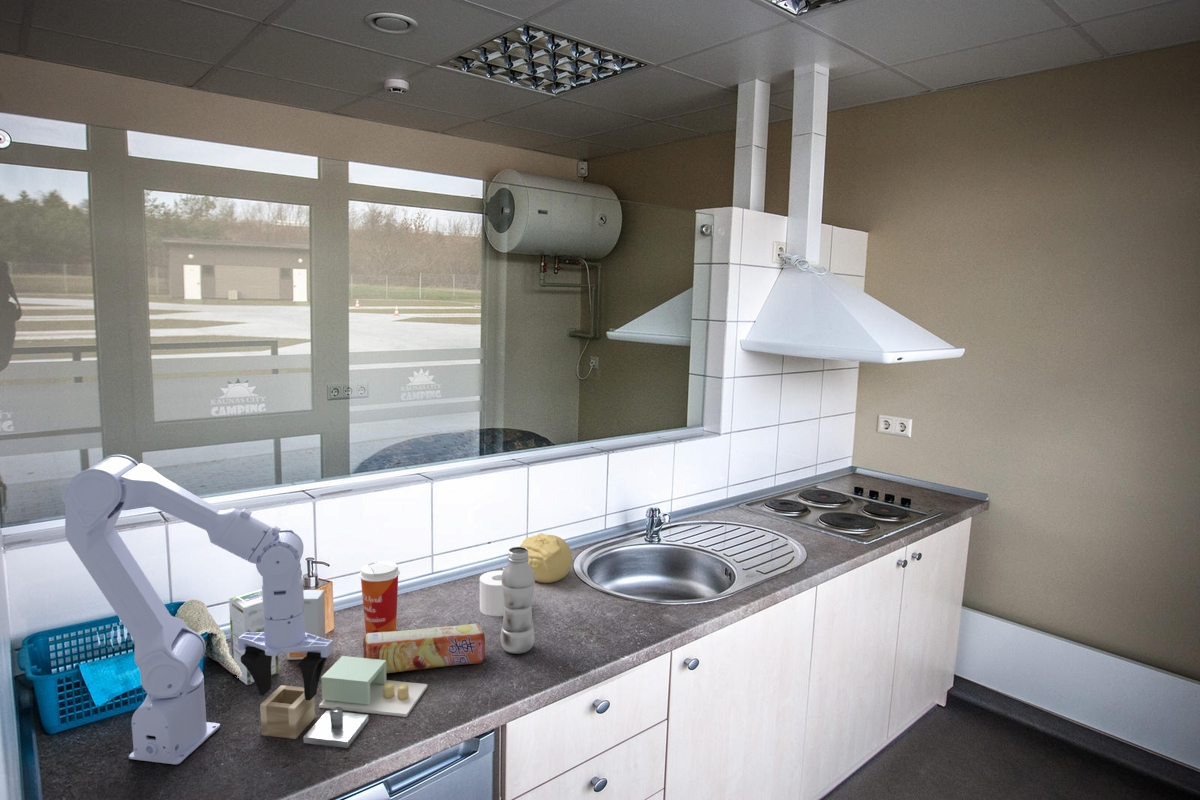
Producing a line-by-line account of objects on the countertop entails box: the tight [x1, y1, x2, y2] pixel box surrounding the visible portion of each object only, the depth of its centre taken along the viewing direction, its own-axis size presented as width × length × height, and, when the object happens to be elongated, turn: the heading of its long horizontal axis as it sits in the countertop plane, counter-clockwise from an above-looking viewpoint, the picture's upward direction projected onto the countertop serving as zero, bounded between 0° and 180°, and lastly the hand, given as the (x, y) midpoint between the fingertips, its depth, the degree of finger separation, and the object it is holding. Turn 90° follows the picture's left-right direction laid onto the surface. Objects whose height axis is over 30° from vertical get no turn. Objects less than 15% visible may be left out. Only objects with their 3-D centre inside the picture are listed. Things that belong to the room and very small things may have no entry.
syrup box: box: [228, 588, 280, 686], centre depth 126 cm, size 6×6×14 cm
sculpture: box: [519, 533, 573, 584], centre depth 172 cm, size 12×12×11 cm
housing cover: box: [320, 655, 387, 704], centre depth 121 cm, size 7×8×4 cm
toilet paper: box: [479, 567, 506, 617], centre depth 157 cm, size 8×11×7 cm
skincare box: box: [286, 589, 327, 661], centre depth 133 cm, size 6×4×12 cm
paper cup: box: [358, 560, 401, 635], centre depth 142 cm, size 8×8×14 cm
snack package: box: [362, 623, 486, 674], centre depth 131 cm, size 21×7×7 cm, turn 108°
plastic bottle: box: [499, 546, 536, 655], centre depth 136 cm, size 6×7×20 cm
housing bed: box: [318, 679, 428, 718], centre depth 121 cm, size 9×15×2 cm, turn 82°
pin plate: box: [302, 707, 370, 749], centre depth 111 cm, size 7×7×4 cm
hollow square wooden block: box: [259, 684, 316, 740], centre depth 112 cm, size 6×6×5 cm
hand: (288, 694), depth 112 cm, fingers open, 7 cm apart
